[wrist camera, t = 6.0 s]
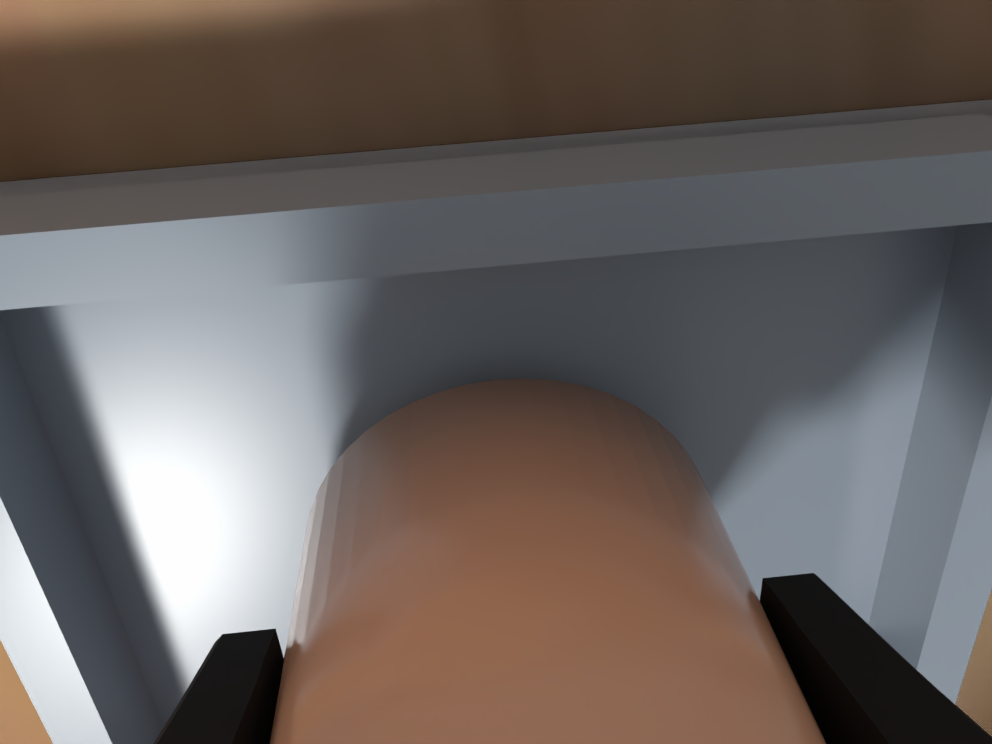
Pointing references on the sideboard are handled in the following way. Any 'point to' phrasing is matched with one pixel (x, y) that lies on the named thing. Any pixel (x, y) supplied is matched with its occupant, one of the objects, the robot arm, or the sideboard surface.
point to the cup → (527, 586)
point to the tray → (489, 367)
